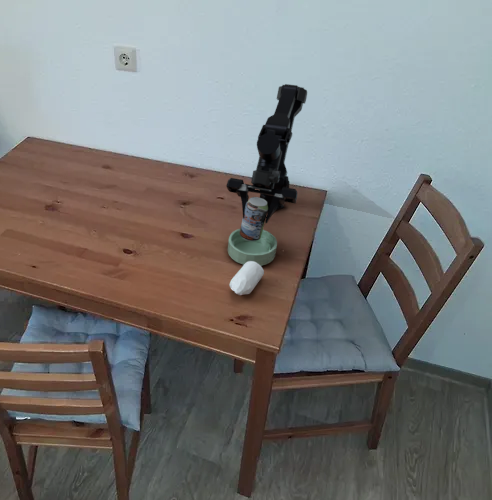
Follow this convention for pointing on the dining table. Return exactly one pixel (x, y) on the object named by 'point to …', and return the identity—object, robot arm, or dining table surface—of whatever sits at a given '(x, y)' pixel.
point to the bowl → (252, 248)
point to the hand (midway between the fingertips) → (254, 220)
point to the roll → (246, 278)
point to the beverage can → (254, 219)
